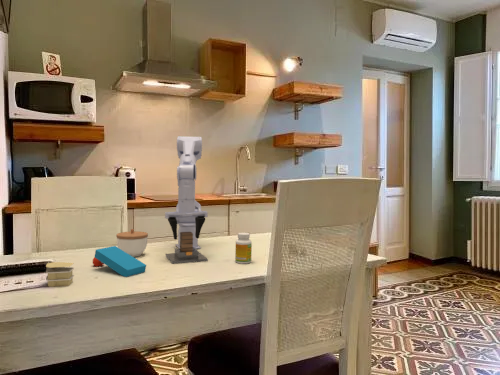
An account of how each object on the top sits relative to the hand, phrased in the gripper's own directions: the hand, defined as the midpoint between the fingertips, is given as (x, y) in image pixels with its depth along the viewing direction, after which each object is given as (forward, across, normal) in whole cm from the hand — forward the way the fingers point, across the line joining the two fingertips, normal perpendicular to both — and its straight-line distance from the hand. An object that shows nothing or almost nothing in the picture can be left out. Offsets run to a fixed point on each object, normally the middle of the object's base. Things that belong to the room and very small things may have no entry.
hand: (186, 238), depth 139 cm
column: (+5, 0, 0) cm, 5 cm away
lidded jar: (+7, -17, +11) cm, 21 cm away
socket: (+7, 0, 0) cm, 7 cm away
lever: (+8, -24, -8) cm, 26 cm away
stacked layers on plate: (+8, -39, -18) cm, 44 cm away
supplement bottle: (+7, +17, -11) cm, 22 cm away
